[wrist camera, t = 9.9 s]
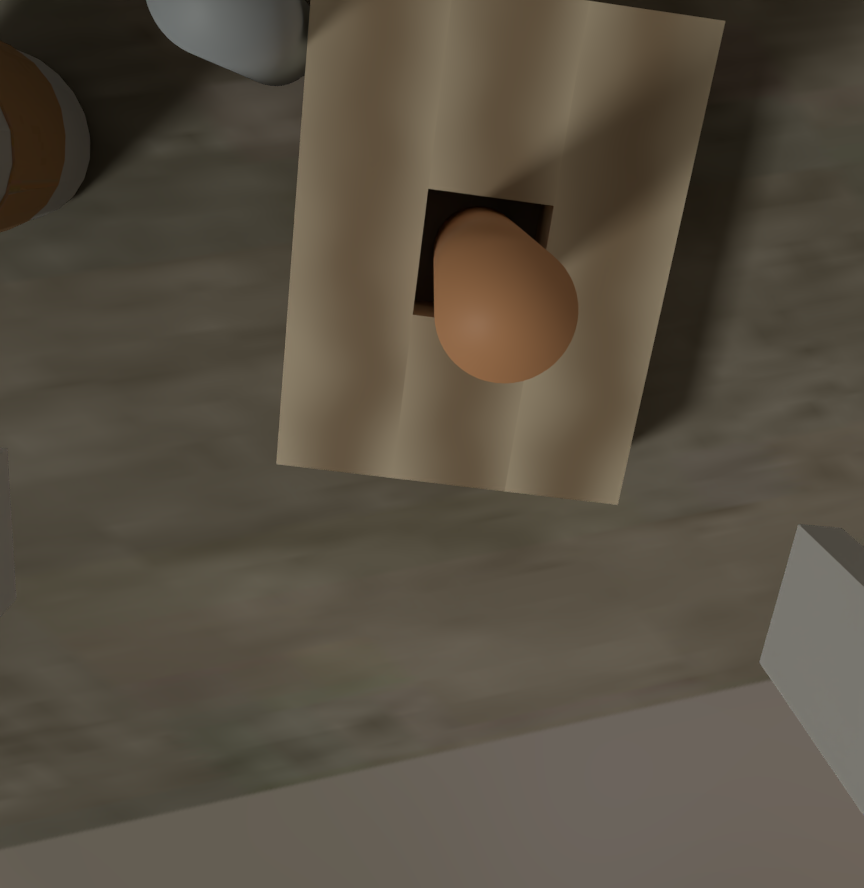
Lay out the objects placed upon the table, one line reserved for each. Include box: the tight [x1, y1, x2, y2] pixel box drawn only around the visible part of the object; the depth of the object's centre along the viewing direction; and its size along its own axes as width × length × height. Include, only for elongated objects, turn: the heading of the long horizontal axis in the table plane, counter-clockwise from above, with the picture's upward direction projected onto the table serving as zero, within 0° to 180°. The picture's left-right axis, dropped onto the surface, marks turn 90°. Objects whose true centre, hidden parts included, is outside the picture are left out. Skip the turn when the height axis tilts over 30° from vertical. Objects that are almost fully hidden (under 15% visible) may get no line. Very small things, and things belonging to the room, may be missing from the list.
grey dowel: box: [146, 0, 310, 86], centre depth 27 cm, size 4×4×10 cm
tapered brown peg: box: [433, 206, 578, 383], centre depth 27 cm, size 4×4×14 cm
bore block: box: [276, 0, 725, 505], centre depth 33 cm, size 14×18×4 cm
